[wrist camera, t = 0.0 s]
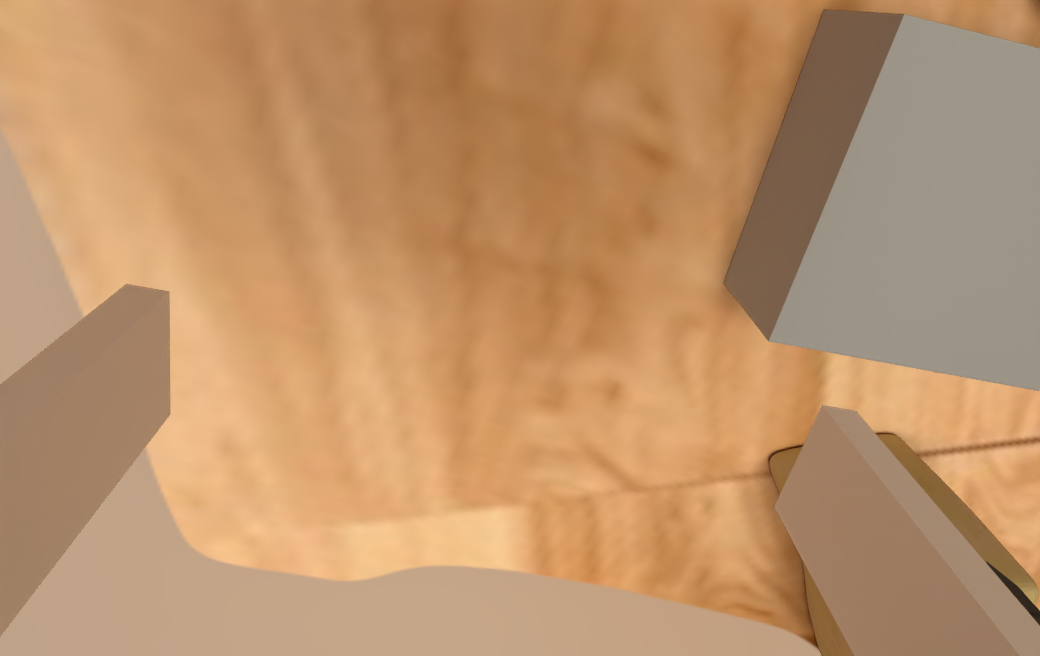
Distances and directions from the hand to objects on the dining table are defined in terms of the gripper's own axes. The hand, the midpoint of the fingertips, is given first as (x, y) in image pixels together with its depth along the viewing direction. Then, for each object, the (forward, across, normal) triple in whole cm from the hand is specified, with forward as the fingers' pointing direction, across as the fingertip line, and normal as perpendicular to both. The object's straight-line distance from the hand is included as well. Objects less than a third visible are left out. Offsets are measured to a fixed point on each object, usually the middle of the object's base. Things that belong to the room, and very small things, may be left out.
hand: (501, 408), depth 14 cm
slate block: (+28, +24, +2) cm, 37 cm away
